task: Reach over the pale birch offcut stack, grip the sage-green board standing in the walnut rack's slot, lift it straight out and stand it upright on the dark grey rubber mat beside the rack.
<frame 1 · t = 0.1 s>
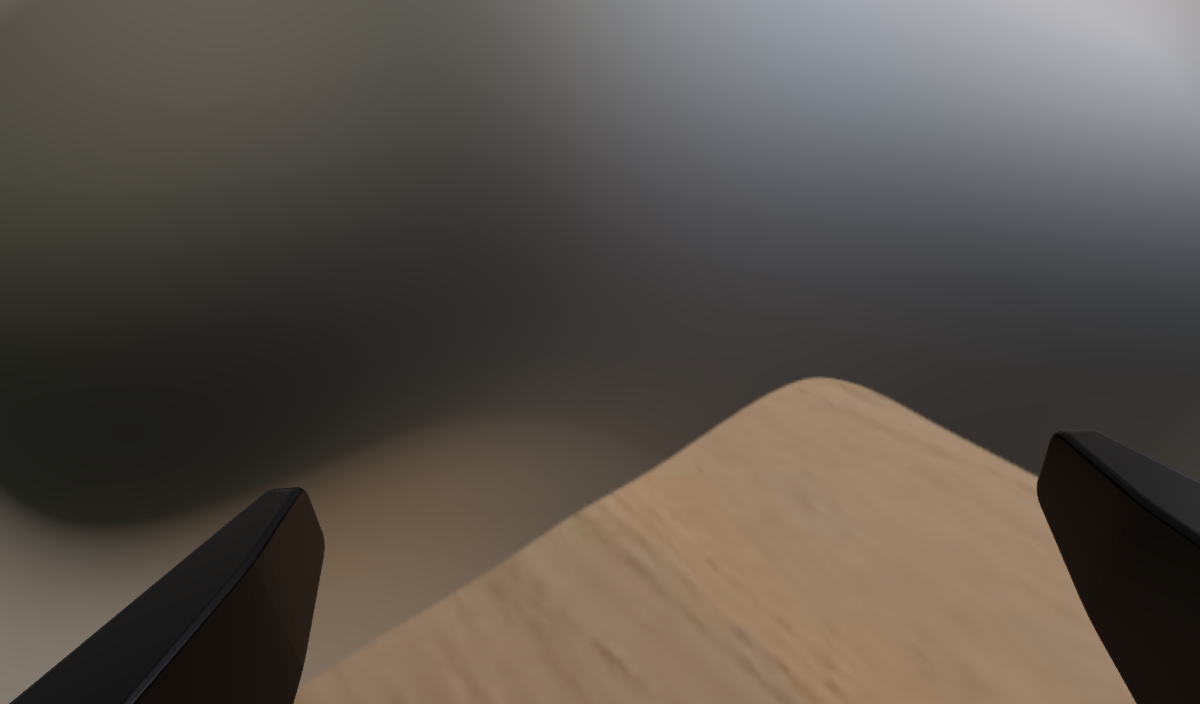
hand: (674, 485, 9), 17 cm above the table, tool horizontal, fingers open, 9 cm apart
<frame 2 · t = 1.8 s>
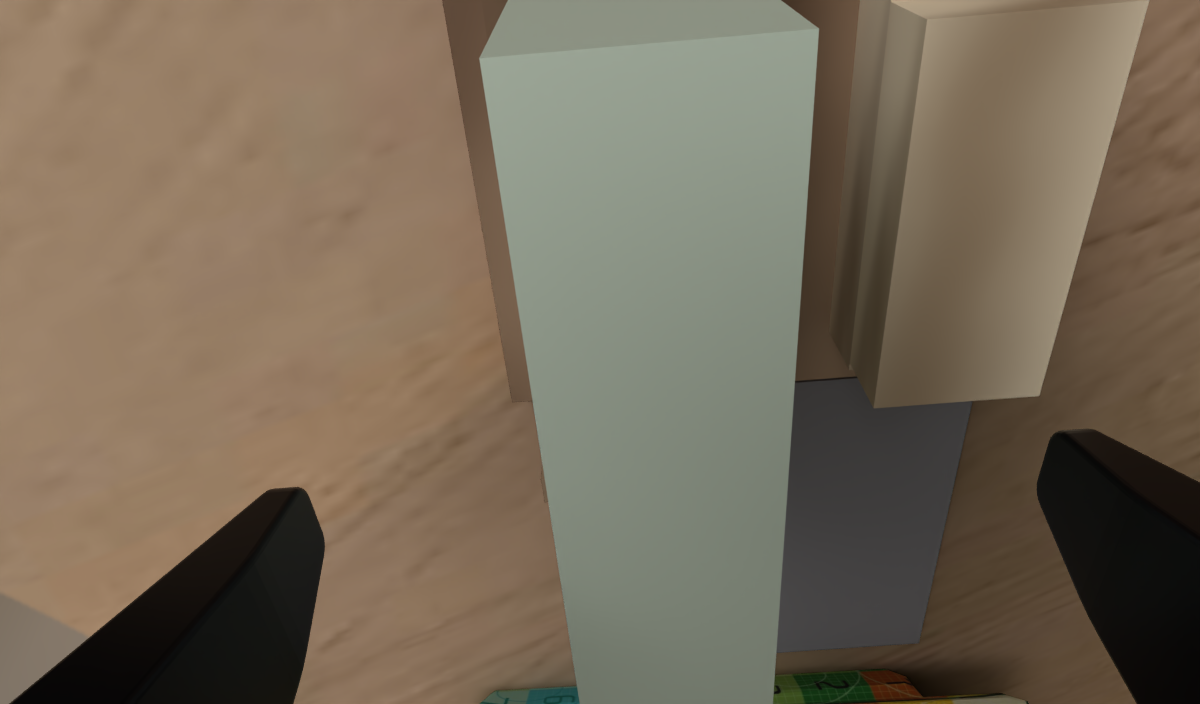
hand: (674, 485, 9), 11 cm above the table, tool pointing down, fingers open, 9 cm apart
rack: (749, 156, 19), on the table
board: (626, 181, 18), point 1 cm above the table, touching rack
offcut stack: (932, 156, 18), point 1 cm above the table, touching rack
mat: (755, 528, 25), on the table
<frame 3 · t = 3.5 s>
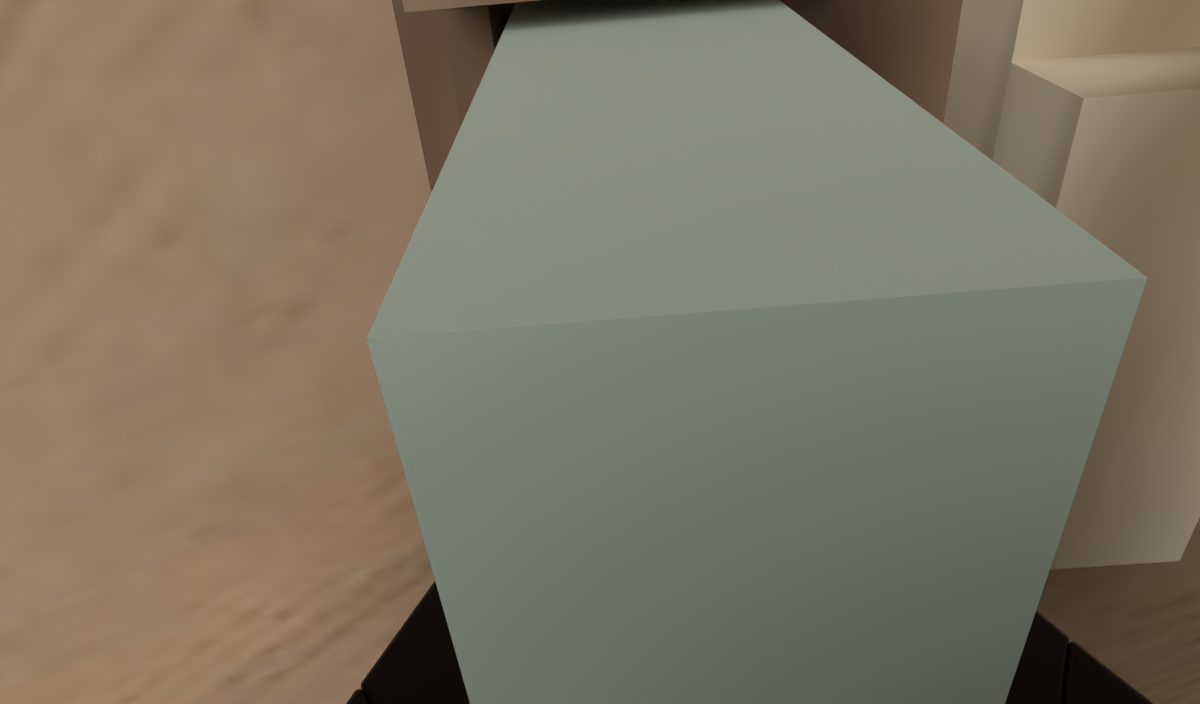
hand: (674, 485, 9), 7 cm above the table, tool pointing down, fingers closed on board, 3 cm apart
rack: (797, 240, 15), on the table
board: (644, 276, 14), point 1 cm above the table, touching gripper, rack
offcut stack: (1035, 245, 14), point 1 cm above the table, touching rack
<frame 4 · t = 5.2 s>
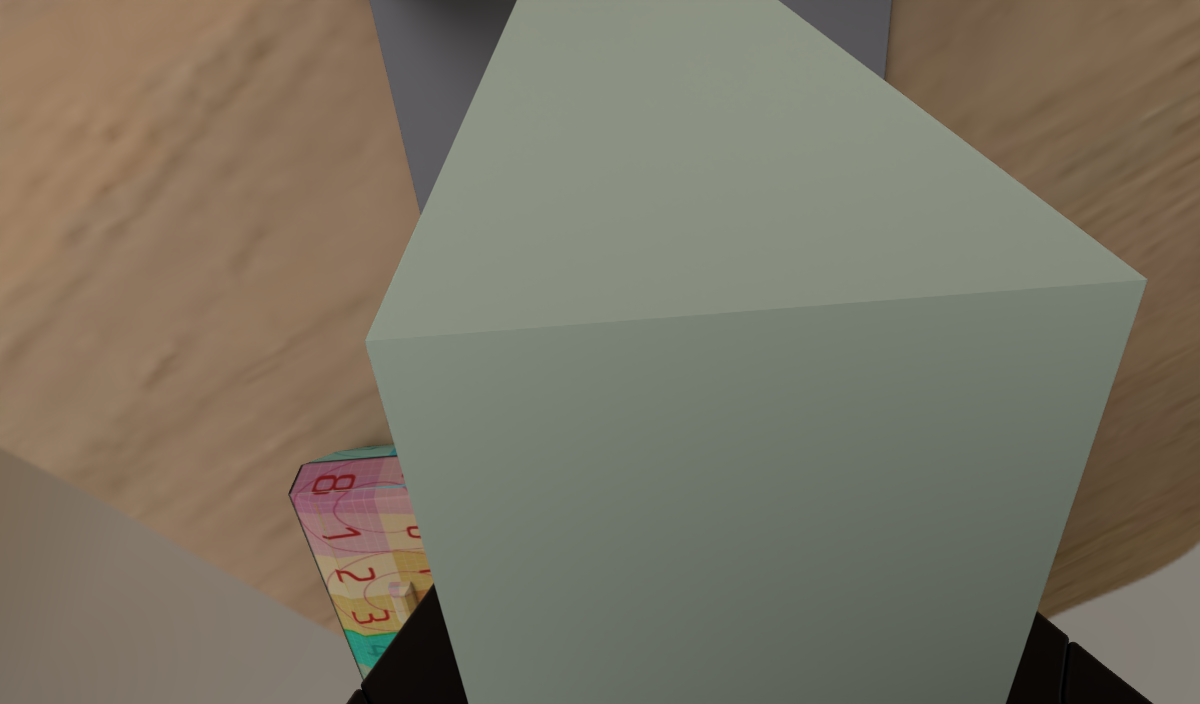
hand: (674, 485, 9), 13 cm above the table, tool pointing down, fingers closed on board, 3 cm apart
board: (643, 277, 14), point 7 cm above the table, touching gripper
puzzle game: (644, 516, 28), on the table
mat: (645, 188, 21), on the table
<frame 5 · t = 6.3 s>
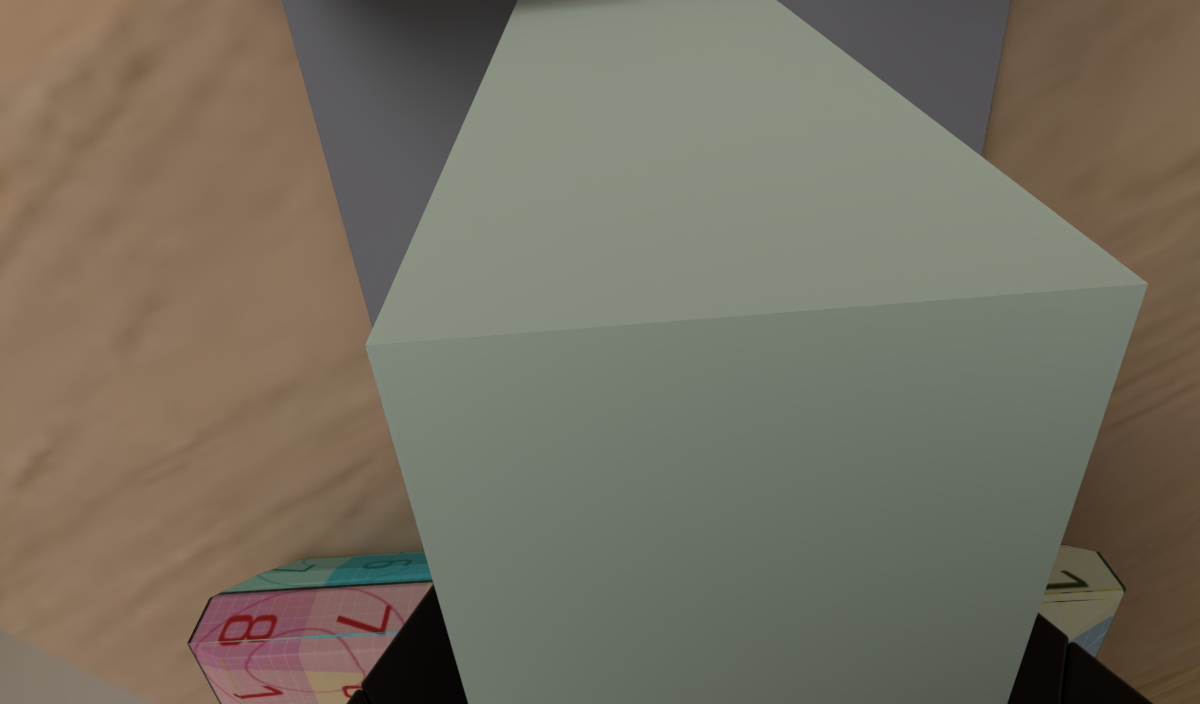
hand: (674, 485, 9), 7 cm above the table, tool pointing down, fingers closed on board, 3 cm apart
board: (644, 278, 14), point 2 cm above the table, touching gripper
puzzle game: (646, 636, 23), on the table
mat: (659, 258, 16), on the table
when the fingers open (7 cm above the table, at t = 7.0 s): board stays where it is, resting on mat.
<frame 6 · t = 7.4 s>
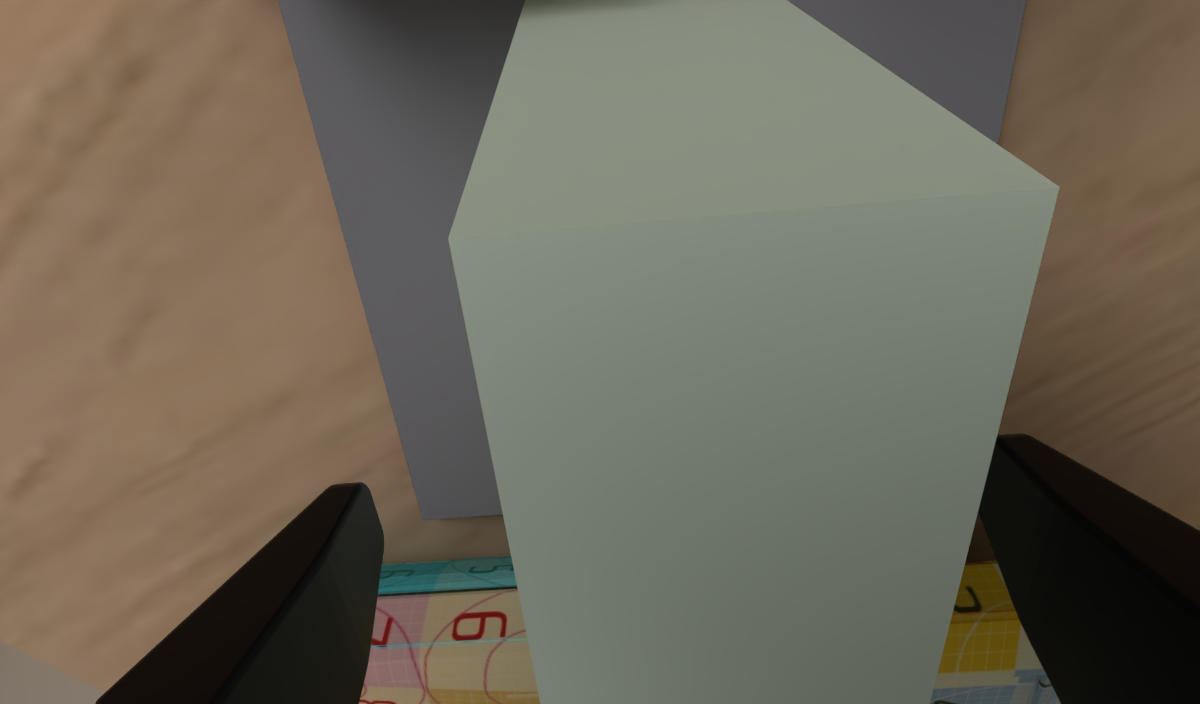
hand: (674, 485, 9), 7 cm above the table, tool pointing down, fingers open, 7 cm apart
board: (643, 254, 15), resting on mat
puzzle game: (651, 647, 23), on the table
mat: (664, 266, 16), on the table
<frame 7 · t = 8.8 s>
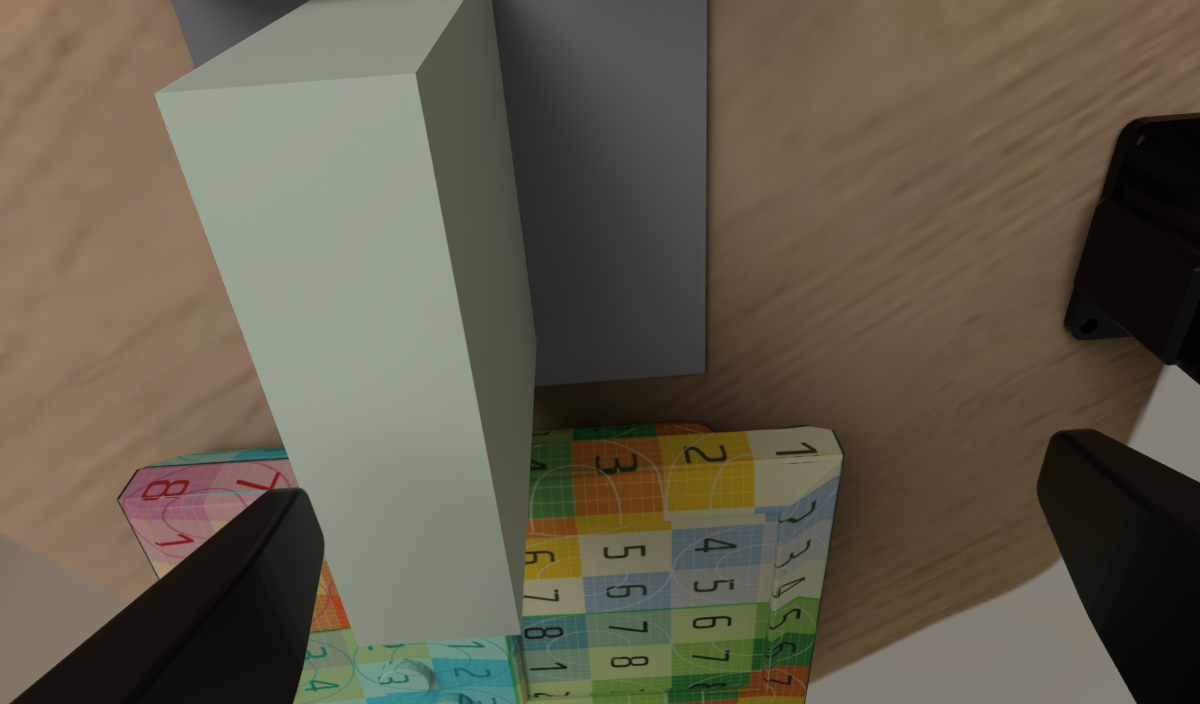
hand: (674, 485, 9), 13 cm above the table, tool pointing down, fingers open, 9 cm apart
board: (457, 184, 20), resting on mat
puzzle game: (512, 524, 28), on the table
mat: (477, 195, 21), on the table
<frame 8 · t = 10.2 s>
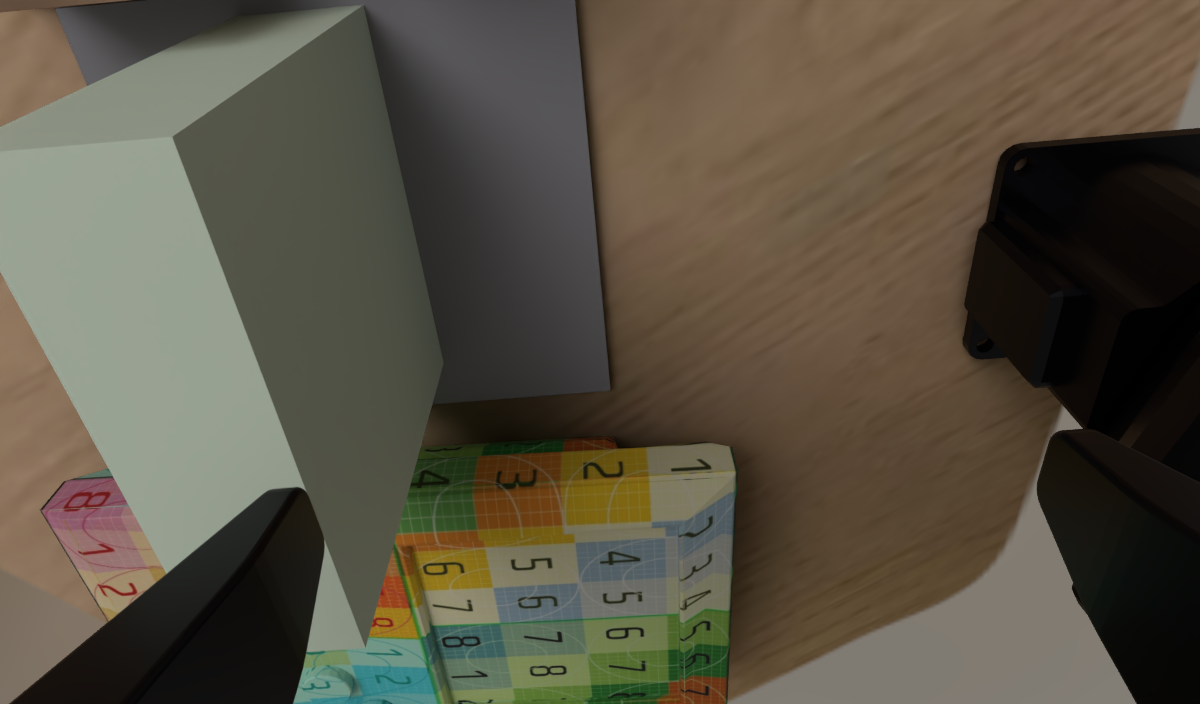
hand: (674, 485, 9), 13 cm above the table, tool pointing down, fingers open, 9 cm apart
board: (353, 211, 21), resting on mat
puzzle game: (442, 535, 29), on the table
mat: (376, 221, 21), on the table
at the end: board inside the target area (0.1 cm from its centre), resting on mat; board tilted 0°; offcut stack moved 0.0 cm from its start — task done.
